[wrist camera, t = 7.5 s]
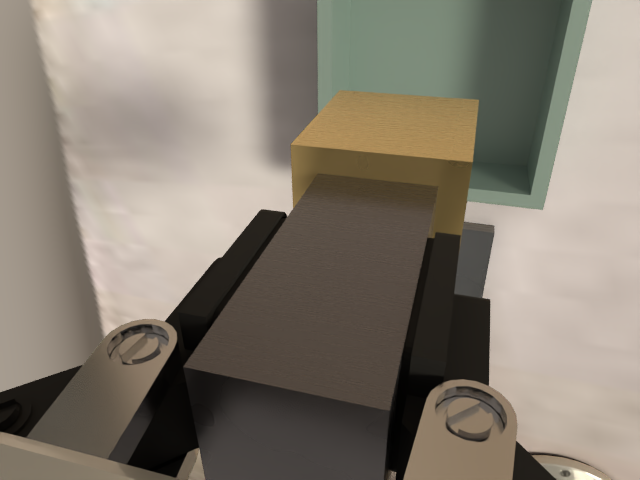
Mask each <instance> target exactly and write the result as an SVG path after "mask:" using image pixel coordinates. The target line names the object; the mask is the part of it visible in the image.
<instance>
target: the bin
mask: <svg viewBox="0 0 640 480" xmlns="http://www.w3.org/2000/svg"><path fill="white" fill-rule="evenodd" d="M591 4H592V0H317V57H318V114H319V112H320V111H321V110H322V109H323V108H324V107H325V106H326V105H327V104H328V102H329V101H330V100H331V99H332V98H333V97H334V96H335V95H336V94H337V93H338V91H339V90H345V91H360V92H374V93H389V94H403V95H417V96H432V97H446V98H461V99H475V100H479V105H478V114H477V124H476V134H475V144H474V154H473V163H472V170H471V177H470V183H469V190H468V197H467V201H471V202H479V203H488V204H497V205H505V206H514V207H522V208H531V209H540V210H543V207H544V203H545V199H546V195H547V191H548V186H549V182H550V178H551V174H552V169H553V165H554V161H555V157H556V152H557V148H558V144H559V140H560V135H561V131H562V127H563V123H564V118H565V114H566V110H567V106H568V101H569V97H570V93H571V89H572V84H573V80H574V76H575V72H576V67H577V63H578V59H579V55H580V50H581V46H582V42H583V38H584V33H585V29H586V25H587V21H588V16H589V12H590V8H591Z"/></svg>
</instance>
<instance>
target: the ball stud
mask: <svg viewBox="0 0 640 480" xmlns="http://www.w3.org/2000/svg"><path fill="white" fill-rule="evenodd" d="M493 237H494V226H492V225H484V224H476V223H468V222H464V223H463V230H462V236H461V243H460V250H459V256H458V265H457V274H456V282H455V291H454V294H459V295H465V296H471V297H478V298H482V296H483V290H484V285H485V280H486V274H487V269H488V264H489V258H490V253H491V248H492V242H493Z"/></svg>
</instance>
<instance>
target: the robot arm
mask: <svg viewBox="0 0 640 480" xmlns="http://www.w3.org/2000/svg"><path fill="white" fill-rule="evenodd" d="M286 218H287V215H286V213H285V212H279V211H271V210H260V211H259V212H258V214H257V215H256V216H255V217H254V219H253V220H252V221H251V222H250V223H249V225H248V226H247V227H246V228H245V230H244V231H243V232H242V233H241V235H240V236H239V237H238V238H237V240H236V241H235V242H234V243H233V244H232V246H231V247H230V248H229V249H228V251H227V252H226V253H225V254H224V256H223V257H221V258H218V259H216V260H215V261H214V262H213V264H212V265H211V266H210V267H209V268H208V270H207V271H206V272H205V273H204V274H203V276H202V277H201V278H200V279H199V280H198V282H197V283H196V284H195V285H194V287H193V288H192V289H191V290H190V291H189V293H188V294H187V295H186V296H185V297H184V299H183V300H182V301H181V302H180V304H179V305H178V306H177V307H176V308H175V310H174V311H173V312H172V313H171V314H170V316H169V317H168V318H167V319H166V321H165V322H164V321H160V320H156V319H142V320H137V321H132V322H129V323H127V324H124V325H121V326H119V327H118V328H116V329H115V330H113V331H111V332H110V333H109V334H108V335H107V336H106V337H105V338H104V339H103V340H102V342H101V343H100V344H99V345H98V347H97V348H96V349H95V350H94V352H93V353H92V354H91V355H90V357H89V358H88V359H87V360H86V362H85V363H84V364H83V365H81V366H78V367H75V368H72V369H69V370H66V371H63V372H60V373H57V374H54V375H51V376H48V377H45V378H42V379H39V380H36V381H33V382H30V383H27V384H24V385H21V386H18V387H15V388H12V389H9V390H6V391H3V392H0V480H188V478H189V475H190V473H191V471H192V469H193V466H194V464H195V462H196V459H197V455H198V451H199V449H198V448H199V444H198V439H197V434H196V429H195V424H194V419H193V414H192V409H191V403H190V398H189V393H188V388H187V383H186V378H185V373H184V368H183V366H184V365H185V364H186V362H187V361H188V359H189V358H190V356H191V355H192V354H193V352H194V351H195V349H196V348H197V346H198V345H199V343H200V342H201V341H202V339H203V338H204V336H205V335H206V333H207V332H208V331H209V329H210V328H211V326H212V325H213V323H214V322H215V320H216V319H217V318H218V316H219V315H220V313H221V312H222V310H223V309H224V308H225V306H226V305H227V303H228V302H229V300H230V299H231V297H232V296H233V295H234V293H235V292H236V290H237V289H238V287H239V286H240V285H241V283H242V282H243V280H244V279H245V277H246V276H247V274H248V273H249V272H250V270H251V269H252V267H253V266H254V264H255V263H256V262H257V260H258V259H259V257H260V256H261V254H262V253H263V252H264V250H265V249H266V247H267V246H268V244H269V243H270V241H271V240H272V239H273V237H274V236H275V234H276V233H277V231H278V230H279V229H280V227H281V226H282V224H283V223H284V221H285V220H286ZM460 239H461V235H456V234H448V233H440V232H436V233H435V238H427V243H426V247H425V252H424V256H423V261H422V266H421V270H420V275H419V279H418V284H417V289H416V293H415V298H414V302H413V307H412V312H411V316H410V321H409V325H408V330H407V334H406V339H405V344H404V349H403V356H402V363H401V372H400V382H399V392H398V403H397V413H396V423H395V434H394V444H393V455H392V465H391V471H394V472H396V480H612V479H611V478H609V477H608V476H607V475H605V474H604V473H602V472H600V471H599V470H597V469H595V468H593V467H591V466H589V465H586V464H583V463H581V462H578V461H575V460H571V459H567V458H563V457H556V456H549V455H530V454H529V453H528V452H527V451H526V450H525V449H524V448H523V447H522V446H521V445H520V444H519V443H518V442H517V441H516V435H517V418H516V413H515V411H514V409H513V407H512V405H511V404H510V402H509V401H508V400H507V399H506V398H505V397H504V396H503V395H502V394H501V393H499V392H498V391H496V390H495V389H493V388H491V387H490V386H489V346H490V299H484V298H478V297H471V296H465V295H459V294H454V291H455V282H456V274H457V265H458V256H459V248H460Z"/></svg>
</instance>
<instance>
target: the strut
mask: <svg viewBox="0 0 640 480" xmlns="http://www.w3.org/2000/svg"><path fill="white" fill-rule="evenodd" d="M478 105H479V100H475V99H461V98H446V97H432V96H417V95H403V94H389V93H374V92H360V91H345V90H339V91H338V93H337V94H336V95H335V96H334V97H333V98H332V99H331V100H330V101H329V102H328V104H327V105H326V106H325V107H324V108H323V109H322V110H321V111H320V112H319V114H318V115H317V116H316V117H315V118H314V119H313V120H312V121H311V122H310V124H309V125H308V126H307V127H306V128H305V129H304V130H303V131H302V132H301V134H300V135H299V136H298V137H297V138H296V139H295V140H294V141H293V142H292V143H291V166H292V191H293V210H292V211H291V213H290V214H289V216H288V217H287V218H286V220H285V221H284V223H283V224H282V226H281V227H280V229H279V230H278V231H277V233H276V234H275V236H274V237H273V239H272V240H271V241H270V243H269V244H268V246H267V247H266V249H265V250H264V252H263V253H262V254H261V256H260V257H259V259H258V260H257V262H256V263H255V264H254V266H253V267H252V269H251V270H250V272H249V273H248V274H247V276H246V277H245V279H244V280H243V282H242V283H241V285H240V286H239V287H238V289H237V290H236V292H235V293H234V295H233V296H232V297H231V299H230V300H229V302H228V303H227V305H226V306H225V308H224V309H223V310H222V312H221V313H220V315H219V316H218V318H217V319H216V320H215V322H214V323H213V325H212V326H211V328H210V329H209V331H208V332H207V333H206V335H205V336H204V338H203V339H202V341H201V342H200V343H199V345H198V346H197V348H196V349H195V351H194V352H193V354H192V355H191V356H190V358H189V359H188V361H187V362H186V364H185V365H184V366H183V368H184V373H185V378H186V383H187V388H188V393H189V398H190V403H191V409H192V414H193V419H194V424H195V429H196V434H197V439H198V444H199V449H200V454H201V459H202V464H203V469H204V474H205V479H206V480H390V477H391V465H392V455H393V444H394V434H395V423H396V413H397V403H398V392H399V382H400V372H401V363H402V356H403V349H404V344H405V339H406V334H407V330H408V325H409V321H410V316H411V312H412V307H413V302H414V298H415V293H416V289H417V284H418V279H419V275H420V270H421V266H422V261H423V256H424V252H425V247H426V243H427V238H435V233H436V232H440V233H448V234H456V235H461V236H462V230H463V223H464V216H465V210H466V203H467V197H468V190H469V183H470V177H471V170H472V163H473V154H474V144H475V134H476V124H477V114H478ZM460 243H461V239H460ZM459 250H460V248H459Z"/></svg>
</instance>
